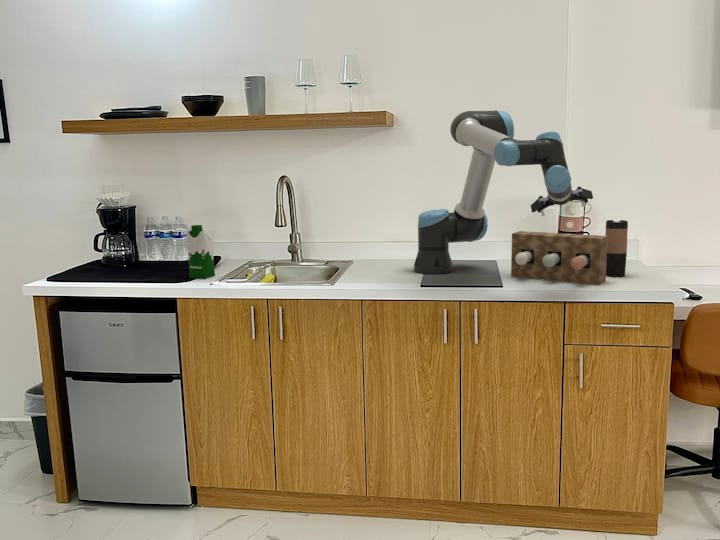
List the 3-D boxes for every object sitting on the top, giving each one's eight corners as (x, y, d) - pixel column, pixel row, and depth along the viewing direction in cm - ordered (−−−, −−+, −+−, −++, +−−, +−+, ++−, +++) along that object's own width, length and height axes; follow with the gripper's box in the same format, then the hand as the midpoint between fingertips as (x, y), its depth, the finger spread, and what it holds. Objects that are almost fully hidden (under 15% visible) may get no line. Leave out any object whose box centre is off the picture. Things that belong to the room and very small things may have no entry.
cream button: (515, 264, 263) (515, 252, 262) (522, 261, 269) (522, 249, 268) (527, 265, 261) (527, 253, 260) (533, 262, 267) (534, 250, 266)
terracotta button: (570, 269, 252) (571, 256, 252) (577, 265, 258) (577, 253, 257) (583, 270, 250) (584, 257, 249) (589, 266, 256) (590, 254, 255)
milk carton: (186, 278, 280) (182, 226, 276) (198, 274, 288) (195, 223, 285) (206, 279, 277) (203, 226, 273) (218, 275, 285) (215, 223, 282)
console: (511, 276, 271) (511, 233, 268) (519, 273, 278) (520, 231, 275) (599, 284, 254) (601, 238, 251) (605, 280, 260) (607, 235, 258)
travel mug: (614, 278, 265) (617, 222, 262) (599, 274, 272) (601, 220, 268) (630, 275, 269) (632, 221, 265) (614, 272, 275) (616, 219, 272)
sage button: (542, 266, 258) (542, 254, 257) (549, 263, 264) (549, 251, 263) (554, 267, 255) (555, 255, 255) (561, 264, 261) (561, 252, 260)
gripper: (522, 211, 237) (528, 226, 257) (602, 192, 231) (602, 209, 251) (518, 189, 239) (524, 205, 259) (597, 170, 233) (597, 188, 253)
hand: (562, 207), depth 255 cm, fingers open, 13 cm apart
